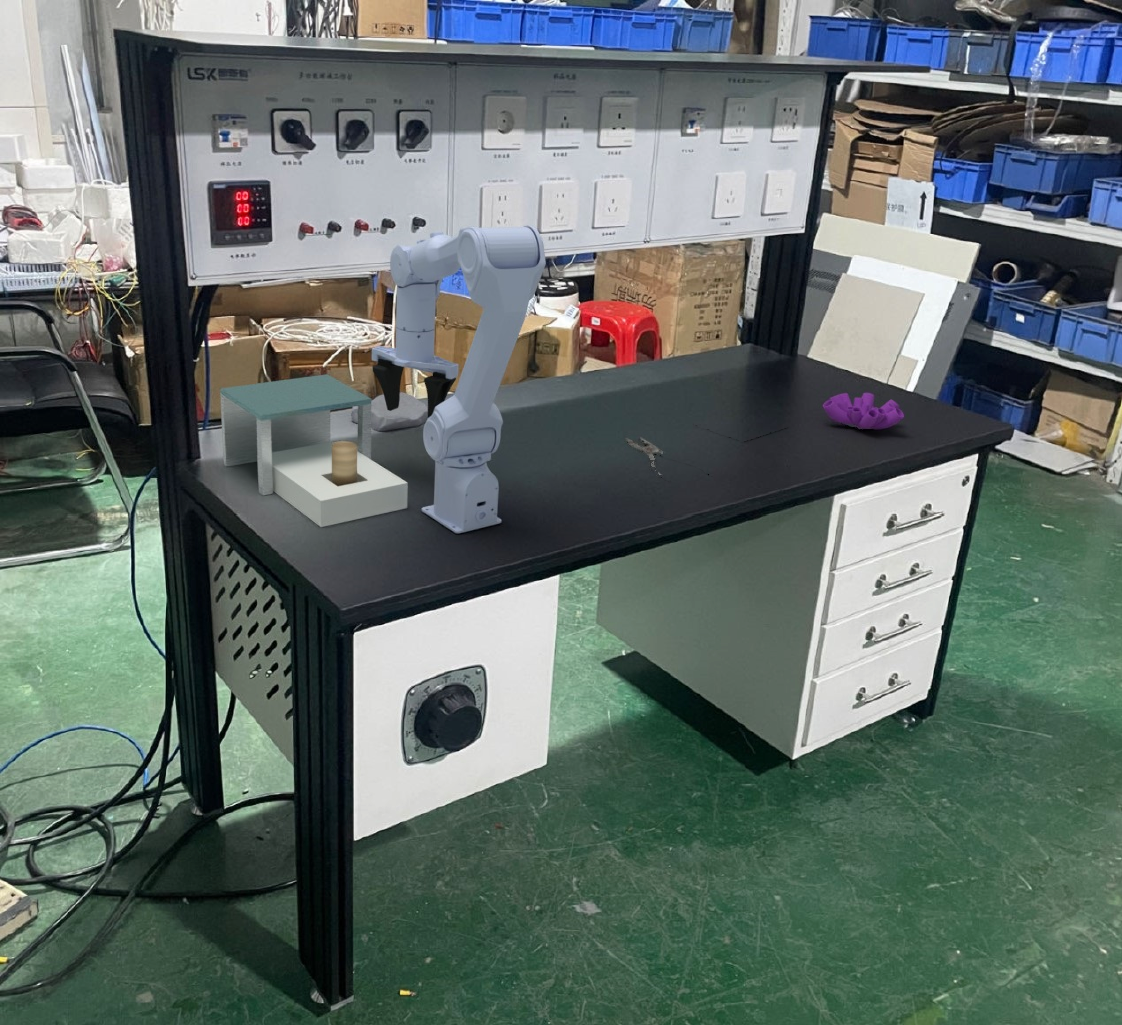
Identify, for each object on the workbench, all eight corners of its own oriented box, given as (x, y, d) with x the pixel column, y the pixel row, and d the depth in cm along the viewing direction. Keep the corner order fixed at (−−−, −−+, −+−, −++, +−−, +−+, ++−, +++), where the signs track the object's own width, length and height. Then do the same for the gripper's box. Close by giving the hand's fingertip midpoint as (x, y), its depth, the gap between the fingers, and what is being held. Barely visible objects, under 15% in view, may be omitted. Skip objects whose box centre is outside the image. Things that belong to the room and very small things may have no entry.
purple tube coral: (829, 432, 222) (849, 390, 223) (898, 453, 213) (919, 410, 214) (812, 408, 213) (834, 365, 214) (883, 429, 204) (905, 384, 205)
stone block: (432, 430, 200) (394, 406, 205) (436, 407, 198) (398, 383, 202) (384, 447, 192) (346, 422, 196) (388, 423, 189) (349, 398, 193)
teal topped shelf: (370, 474, 173) (371, 398, 169) (263, 495, 163) (260, 415, 158) (327, 446, 183) (327, 374, 178) (223, 464, 172) (220, 388, 167)
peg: (359, 500, 161) (359, 449, 158) (334, 502, 160) (334, 450, 157) (354, 490, 164) (354, 440, 161) (329, 492, 163) (329, 441, 160)
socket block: (407, 508, 163) (407, 482, 161) (320, 527, 154) (320, 500, 153) (340, 464, 176) (340, 440, 175) (258, 479, 168) (257, 454, 166)
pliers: (675, 483, 179) (597, 443, 193) (675, 487, 180) (596, 448, 194) (717, 473, 185) (638, 435, 199) (717, 477, 185) (638, 440, 199)
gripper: (359, 323, 164) (358, 410, 169) (441, 341, 158) (437, 431, 163) (387, 315, 170) (386, 399, 175) (467, 332, 164) (463, 419, 169)
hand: (413, 414), depth 170 cm, fingers open, 7 cm apart
